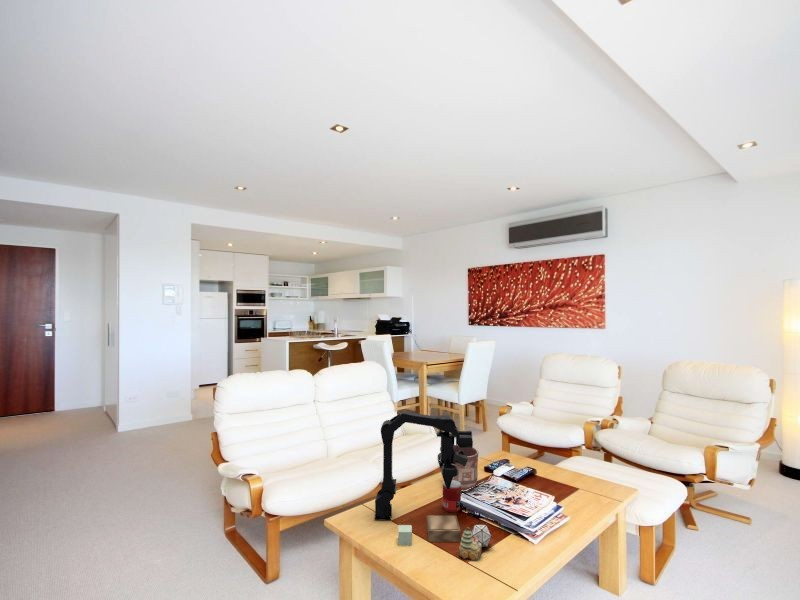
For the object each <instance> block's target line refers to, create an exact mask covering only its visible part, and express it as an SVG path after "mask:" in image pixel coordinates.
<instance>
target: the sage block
mask: <svg viewBox="0 0 800 600" xmlns="http://www.w3.org/2000/svg"><path fill="white" fill-rule="evenodd" d="M397 528H398V532H397V533H398V534H397V535H398V536H397V537H398V538H397V539H398V540H397V541H398V544H397V545H398V546H412V545H413V531H412V530H413V529H412V528H413V527H412V524H398V527H397Z"/></svg>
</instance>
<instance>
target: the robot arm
mask: <svg viewBox="0 0 800 600" xmlns="http://www.w3.org/2000/svg"><path fill="white" fill-rule="evenodd" d="M405 423H408V424H415V425H420V426H426V427H432V428H435V429H436V430H438V431H437V432H436V433H435V434H436V437H437V438H438V437H439V438H440V448H439V451H440V452H439V453H438V454H437V463H438V466H439V469H440V471H441V477H442V479H443V482H445V485H446V488H447V489H450V486H451V482H452V479H453V477H455V476H457V475H458V470H457V467H456V466H455V465H452V464H456V463H459V464H461V465H463V466H466V464H467V461H468V458H467V456H466V455H464V452H463V451H462V450H459V451H458V452H455V449H454V445H458V446H459V448H472V447H473V446H474V440H473V433H472V430H459V428H458V427H457V426H456V422H455V420H454V418H453V416H451V415H449V414H444V415H443V414H442V415H441V414H440V415H429V414H428V415H427V414H422V413H418V412H416V413H415V412H410V411H406V410H403V411H401V412H400V413H399V414H397V415H395V416H394V417H391V419H386V420H385V421H383V422H382V424H381V427H380V435H381V440H382V444H383V445H382V446H383V448H382V449H383V450H382V451H383V462H382V463H383V466H382V467H383V468H382V469H383V472H382V473H383V475H382V477H383V478H382V482H381V488H380V489H379V490H378V491H377V492H376V496H375V500H374V503H375V504H374V521H391V517H392V516H393V515H392V514H393V513H392V511H393V510H392V508H393V506H392V505H393V504H392V503H391V501H392V500H393V499H394V497H395V495H396V494H397V478H394V477H393V440H394V435H395V432H396V431H397V430H399V429H400V428H401V427H402V426H403V425H404V424H405ZM473 448H474V447H473Z"/></svg>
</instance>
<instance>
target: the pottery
mask: <svg viewBox="0 0 800 600" xmlns="http://www.w3.org/2000/svg"><path fill="white" fill-rule="evenodd" d="M454 449H455V452H458V451H459V450H462V451H463V452H464V455H466V456H467V458H468V461H467V464H466V466H463V465H461V464H459V463H456V464H452V465H455V466H456V467H457V470H458V475H457V476H455V477H453V479H452V480H456V481H458V482H460V483H461V490H465V489H469V488H472V487H473V488H475V487H476V484H477V483H478V476H479V475H478V474H479V473H478V464H479V463H478V462H479V451H478V449H476V448H474V447H472V448H459V446H458V445H456V444H454ZM474 486H475V487H474ZM473 488H472V489H473Z"/></svg>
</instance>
